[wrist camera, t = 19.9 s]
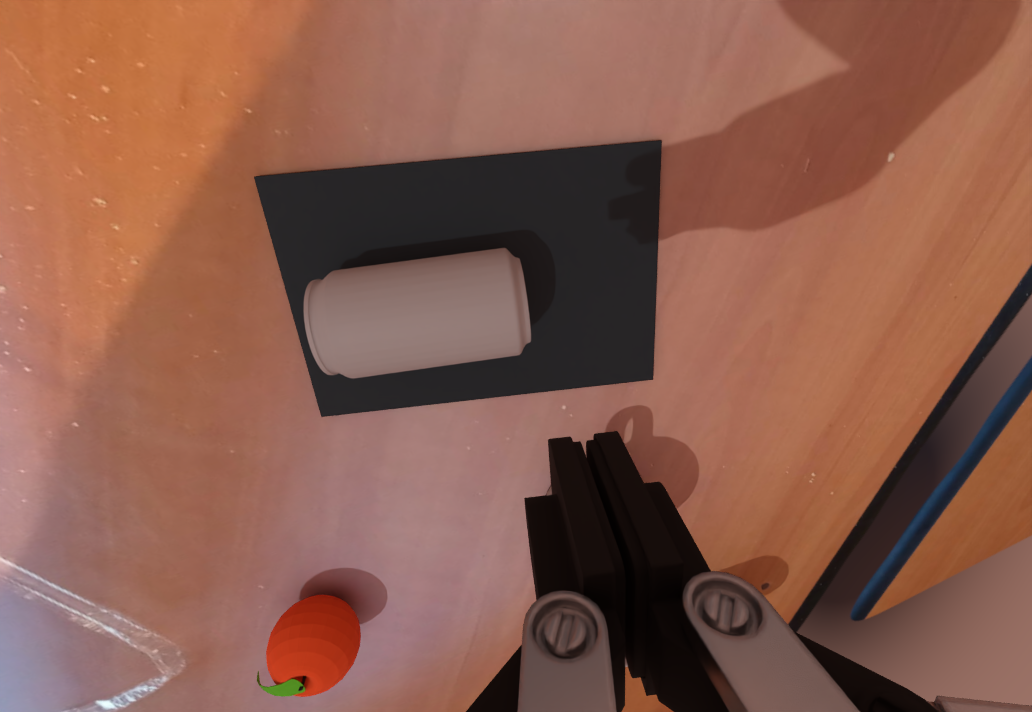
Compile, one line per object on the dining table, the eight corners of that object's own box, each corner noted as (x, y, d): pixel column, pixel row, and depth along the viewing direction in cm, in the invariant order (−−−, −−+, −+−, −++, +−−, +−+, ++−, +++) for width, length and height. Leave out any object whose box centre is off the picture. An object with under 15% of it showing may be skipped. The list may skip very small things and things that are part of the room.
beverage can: (534, 373, 29) (338, 402, 29) (519, 295, 33) (344, 319, 32) (531, 306, 24) (291, 340, 23) (514, 221, 27) (305, 249, 27)
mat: (659, 140, 29) (661, 140, 28) (651, 377, 35) (653, 379, 35) (256, 176, 28) (253, 176, 27) (323, 414, 34) (321, 417, 34)
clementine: (299, 645, 43) (267, 734, 36) (258, 594, 40) (216, 680, 33) (381, 619, 42) (365, 704, 36) (346, 565, 39) (320, 646, 33)
